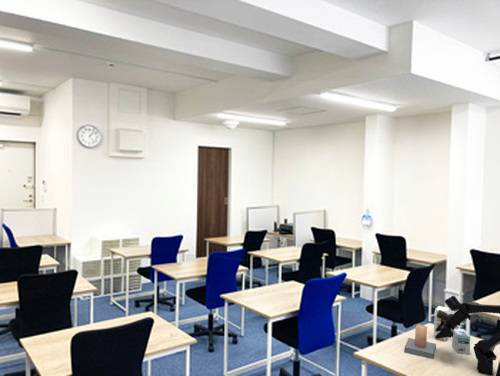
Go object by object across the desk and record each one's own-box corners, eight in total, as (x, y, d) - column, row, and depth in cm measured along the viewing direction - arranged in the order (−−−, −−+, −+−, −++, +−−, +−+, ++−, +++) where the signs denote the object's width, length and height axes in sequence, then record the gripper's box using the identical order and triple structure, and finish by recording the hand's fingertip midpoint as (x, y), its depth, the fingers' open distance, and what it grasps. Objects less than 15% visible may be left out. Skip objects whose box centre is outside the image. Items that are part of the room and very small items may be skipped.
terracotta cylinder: (426, 344, 223) (427, 326, 222) (425, 348, 218) (426, 329, 217) (415, 342, 226) (416, 323, 226) (414, 346, 221) (414, 327, 220)
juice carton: (432, 338, 239) (433, 308, 238) (436, 334, 246) (437, 305, 245) (446, 342, 234) (447, 311, 234) (449, 337, 241) (450, 307, 240)
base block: (435, 348, 225) (436, 343, 225) (433, 359, 212) (433, 353, 212) (408, 342, 232) (408, 337, 232) (404, 352, 219) (404, 347, 219)
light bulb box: (470, 354, 218) (470, 336, 218) (457, 353, 219) (457, 334, 219) (463, 346, 229) (464, 328, 228) (451, 345, 230) (452, 327, 230)
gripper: (445, 301, 223) (425, 317, 228) (445, 312, 206) (423, 329, 212) (461, 316, 220) (440, 332, 225) (462, 329, 203) (439, 346, 209)
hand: (435, 334), depth 218 cm, fingers open, 9 cm apart
